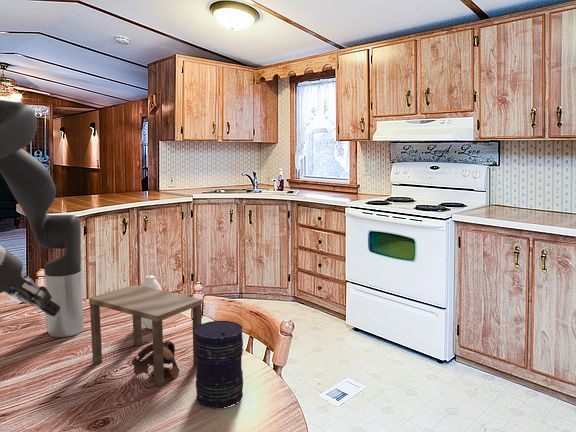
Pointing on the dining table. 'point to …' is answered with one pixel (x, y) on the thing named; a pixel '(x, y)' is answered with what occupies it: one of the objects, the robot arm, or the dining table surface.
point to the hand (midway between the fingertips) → (55, 311)
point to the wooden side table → (146, 306)
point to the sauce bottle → (153, 284)
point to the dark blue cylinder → (219, 364)
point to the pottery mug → (143, 365)
